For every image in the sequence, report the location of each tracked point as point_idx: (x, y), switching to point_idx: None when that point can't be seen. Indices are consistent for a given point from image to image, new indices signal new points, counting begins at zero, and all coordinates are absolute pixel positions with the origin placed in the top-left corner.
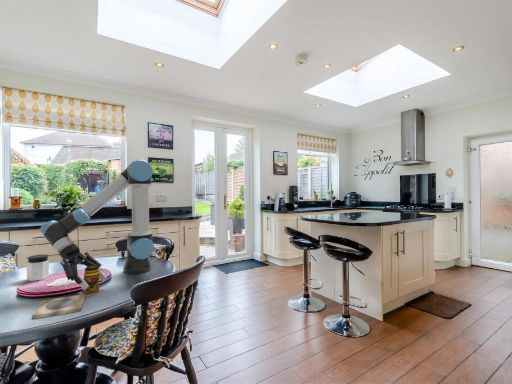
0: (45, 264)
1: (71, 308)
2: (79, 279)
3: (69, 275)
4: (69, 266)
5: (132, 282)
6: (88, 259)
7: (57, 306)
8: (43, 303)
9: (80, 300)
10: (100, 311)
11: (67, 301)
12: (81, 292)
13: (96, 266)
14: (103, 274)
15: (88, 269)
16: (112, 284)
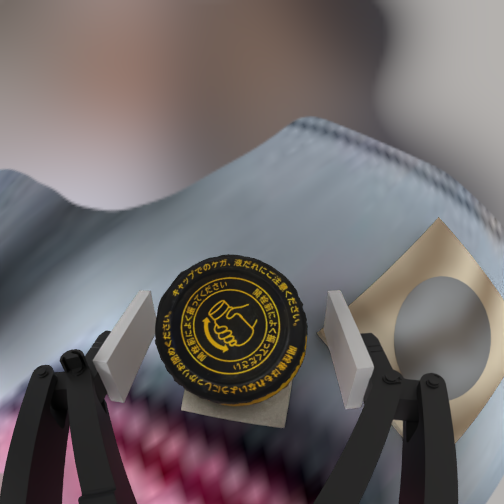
0: None
1: (458, 249)
2: (368, 352)
3: (410, 434)
4: (434, 481)
5: (83, 226)
6: (46, 498)
7: (469, 324)
8: (460, 424)
9: (395, 281)
10: (404, 157)
11: (425, 333)
12: (262, 409)
13: (193, 283)
14: (131, 311)
15: (302, 313)
16: (109, 313)
